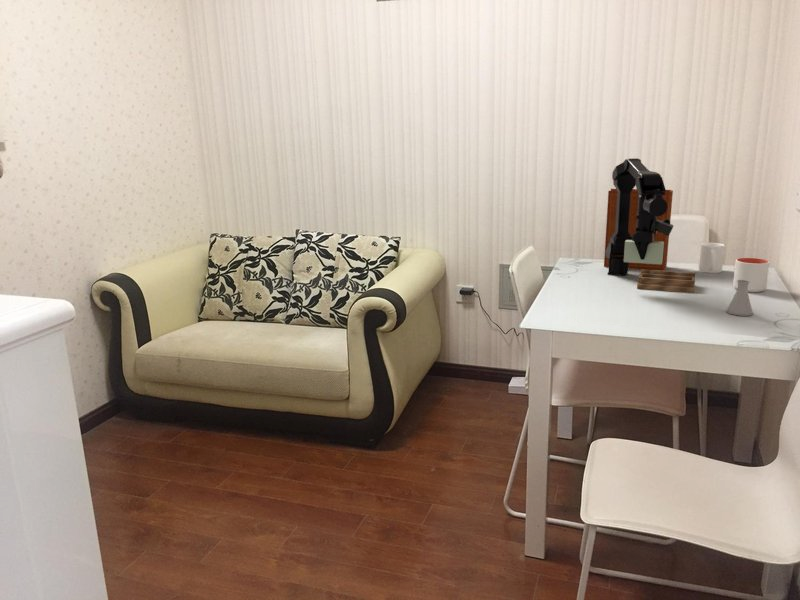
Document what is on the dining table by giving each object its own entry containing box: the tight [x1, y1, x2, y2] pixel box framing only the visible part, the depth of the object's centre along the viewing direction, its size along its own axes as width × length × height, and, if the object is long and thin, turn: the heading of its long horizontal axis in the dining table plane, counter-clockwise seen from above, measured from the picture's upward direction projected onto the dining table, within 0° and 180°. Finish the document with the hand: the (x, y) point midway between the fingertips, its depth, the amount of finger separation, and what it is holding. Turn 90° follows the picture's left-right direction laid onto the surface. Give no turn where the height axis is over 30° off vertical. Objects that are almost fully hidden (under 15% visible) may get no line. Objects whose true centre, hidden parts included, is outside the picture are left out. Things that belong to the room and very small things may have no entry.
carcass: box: [636, 269, 697, 294], centre depth 231 cm, size 18×11×4 cm, turn 66°
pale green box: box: [624, 240, 664, 265], centre depth 223 cm, size 12×4×7 cm, turn 66°
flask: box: [726, 280, 754, 317], centre depth 198 cm, size 7×7×10 cm
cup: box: [732, 257, 770, 293], centre depth 225 cm, size 10×10×10 cm
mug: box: [698, 242, 726, 274], centre depth 251 cm, size 12×8×10 cm
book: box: [603, 188, 674, 271], centre depth 260 cm, size 23×8×30 cm, turn 67°
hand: (643, 258), depth 224 cm, fingers closed on pale green box, 3 cm apart
